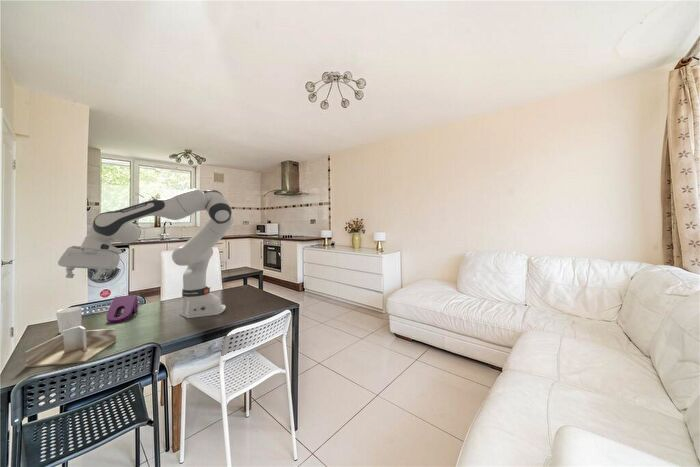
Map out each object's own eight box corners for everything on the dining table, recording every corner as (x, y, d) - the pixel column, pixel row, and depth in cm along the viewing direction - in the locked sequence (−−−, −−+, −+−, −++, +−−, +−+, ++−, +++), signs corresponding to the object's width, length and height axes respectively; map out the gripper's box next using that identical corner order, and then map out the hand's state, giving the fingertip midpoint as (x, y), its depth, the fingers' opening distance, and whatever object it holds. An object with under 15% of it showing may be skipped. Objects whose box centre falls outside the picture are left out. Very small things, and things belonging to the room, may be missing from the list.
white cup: (53, 335, 112) (52, 314, 111) (63, 328, 119) (62, 308, 118) (77, 332, 115) (76, 311, 115) (85, 325, 122) (84, 305, 122)
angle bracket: (82, 347, 101) (81, 325, 100) (86, 350, 99) (85, 328, 98) (63, 352, 97) (62, 330, 96) (68, 356, 94) (66, 333, 94)
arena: (116, 341, 108) (115, 328, 107) (85, 362, 92) (84, 347, 92) (66, 344, 104) (65, 331, 104) (25, 367, 88) (24, 352, 88)
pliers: (97, 306, 145) (130, 301, 153) (97, 308, 145) (130, 304, 154) (91, 311, 137) (127, 306, 145) (91, 314, 137) (127, 309, 145)
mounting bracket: (130, 329, 132) (138, 305, 145) (128, 318, 128) (136, 294, 142) (106, 333, 127) (117, 308, 141) (103, 321, 123) (114, 296, 137)
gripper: (62, 243, 104) (45, 275, 99) (116, 246, 107) (103, 278, 101) (75, 247, 110) (60, 278, 105) (126, 251, 113) (114, 281, 107)
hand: (81, 278), depth 103 cm, fingers open, 8 cm apart
